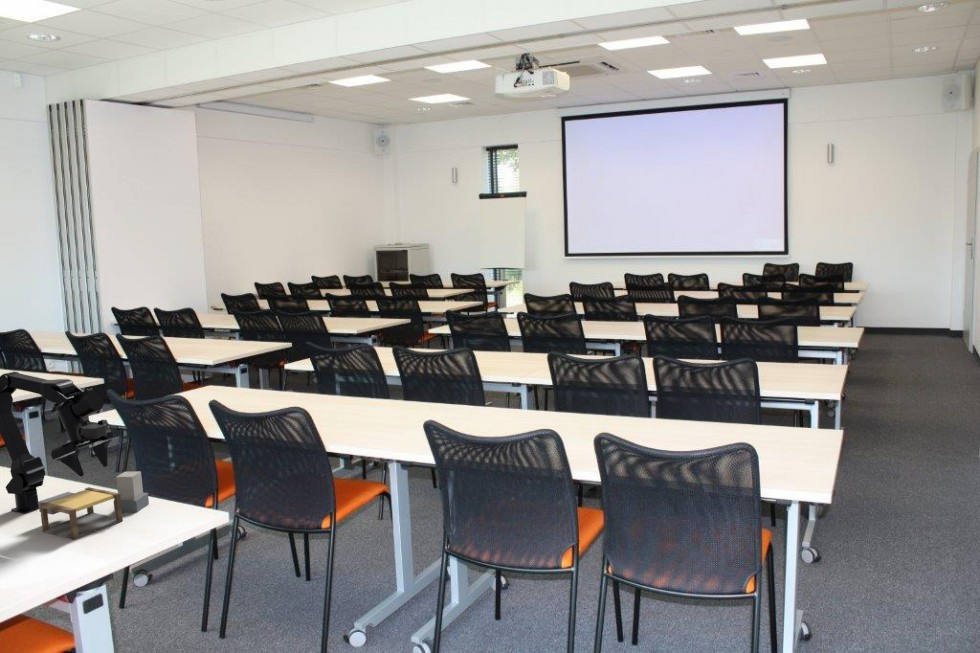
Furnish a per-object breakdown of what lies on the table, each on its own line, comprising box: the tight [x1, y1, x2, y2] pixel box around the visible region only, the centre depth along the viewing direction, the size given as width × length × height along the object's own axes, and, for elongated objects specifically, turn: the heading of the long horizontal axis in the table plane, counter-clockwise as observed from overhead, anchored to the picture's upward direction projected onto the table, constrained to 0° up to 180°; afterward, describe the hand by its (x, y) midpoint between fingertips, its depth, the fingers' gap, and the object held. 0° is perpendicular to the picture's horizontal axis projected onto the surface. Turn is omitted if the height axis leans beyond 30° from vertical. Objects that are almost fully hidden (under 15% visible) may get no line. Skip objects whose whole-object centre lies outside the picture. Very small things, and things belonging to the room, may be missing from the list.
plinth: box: [113, 492, 150, 513], centre depth 246 cm, size 7×7×4 cm
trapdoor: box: [38, 489, 114, 516], centre depth 233 cm, size 18×12×4 cm, turn 61°
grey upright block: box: [115, 470, 144, 500], centre depth 246 cm, size 5×5×7 cm
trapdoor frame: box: [40, 486, 124, 540], centre depth 232 cm, size 14×15×8 cm
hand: (94, 471), depth 240 cm, fingers open, 9 cm apart
